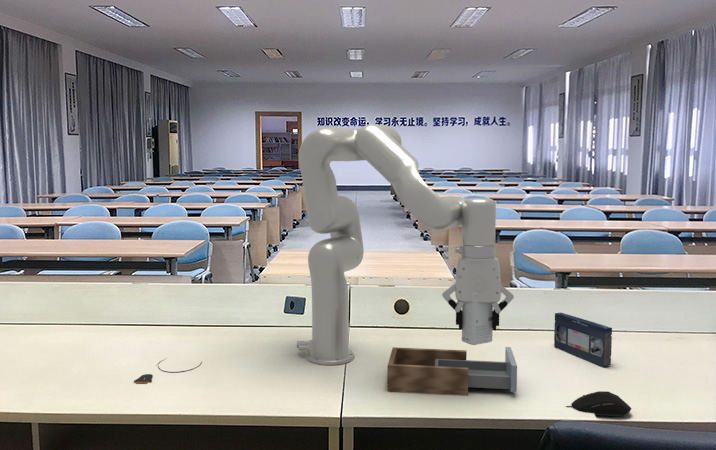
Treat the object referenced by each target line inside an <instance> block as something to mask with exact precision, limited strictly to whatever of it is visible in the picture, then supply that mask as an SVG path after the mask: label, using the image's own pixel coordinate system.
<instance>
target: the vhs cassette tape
mask: <svg viewBox="0 0 716 450" xmlns="http://www.w3.org/2000/svg"><path fill="white" fill-rule="evenodd" d="M553 331H554V336H553V341H554V342H553V347H554V348H555V349H557V350H560V351H562V352H565V353H567V354H570V355H572V356H575V357H576V358H579V359H582V360H585V361H587V362H590V363H592V364H596V365H598V366H601V367H603V368H604V367H609V366H611V365H612V341H613V336H612V335H613V328H612V327H609V326H606V325H604V324H600V323H597V322H594V321H591V320H588V319H584V318H581V317H579V316H578V317H577V316H574V315H571V314H567V313H564V312H555V313H554V330H553Z"/></svg>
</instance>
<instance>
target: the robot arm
mask: <svg viewBox="0 0 716 450" xmlns="http://www.w3.org/2000/svg"><path fill="white" fill-rule="evenodd" d="M357 161H358V162H359V161H362V162H363V161H366V162H367V163H369V164H370V165H371V166H372V167H373V168H374V170H376V171H377V172H378V173H379V174H380V175H381V176H382V177H383V178H384V180H386V181H387V182H388V183H389V184H390V185H391V186H392V187H393V190H394V192H395V194H396V196H397V198H398V199H399V201H400V202H401V204H402V205H403V206H404V208H405V210H407V211H408V212H409V213H410V214H411V215H412V216H413V217H414V218H415V219H417V221H419V223H421V224H422V225H423V226H425V227H426V228H427V229H429V230H431V231H436V232H440V231H445V230H448V229H449V230H450V229H454V228H461V245H459V246H455V248H454V249H455V251H454V253H455V254H457V253H458V254H460V255H461V256H459V257H458V259H457V264H456V271H455V283H453V284H452V285H451V286H450V287H448V288H447V289H446V290H445V291H443V292H442V295H441V297H442V298H443V299H444V300H445V301H446V302H447V304H448V306H450V307H451V308H452V309H453V310H454V311H455V325H456V326H458V329H459V330H462V306H463V305H464V303H471V302H472V301H473V293H477V302H478V303H491V304H492V306H493V327H492V328H493V331H497V327H499V326H500V313H501V312H502V311H503V310H504V309H505V308H506V307H507V306H508V305H509V304H510V303H511V302H512V301H513V300H514V298H515V297H514V294H513V293H512V292H510V290H508V289H507V288H506V287H505V286H503V285H502V282H501V281H502V279H501V267H500V261H499V258H498V257H496V227H497V225H496V222H497V221H496V219H497V218H496V217H497V216H496V215H497V213H496V212H497V206H496V202H495V200H494V199H492V198H487V197H468V198H466V197H462V196H461V197H460V196H454V195H449V196H448V195H447V196H440V195H439V194H437V193H436V192H435V191H434V190H433V189H432V188H431V187H430V186H429V185H428V184H427V183H426V182H425V181H424V179H423V177H422V176H421V175H420V172H419V160H418V159H417V158H416V157H415V156H414V155H412V154H411V152H409V151H408V150H407V149H406V148H405V147H404V146H403V144H402V138H401V135H400V133H399V132H398V131H397V130H396V129H395V128H393V126H389V125H384V124H383V125H382V124H377V123H375V124H374V123H371V124H366V125H364V126H362V127H360V128H349V129H348V128H340V127H339V128H338V127H333V126H332V127H331V126H330V127H329V126H328V127H327V126H325V127H319V128H316V129H315V130H312V131H311V132H310V133H308V134H307V135H306V136H305V138H304V139H303V141H302V142H301V145H300V147H299V152H298V164H299V170H300V173H301V179H302V185H303V193H304V194H303V196H304V200H305V201H304V203H305V208H306V209H305V210H306V216H307V221H308V224H309V228H310V229H311V230H312V231H313V232H314V233H317V234H322V235H323V234H324V235H325V234H329V235H330V237H329V238H324V239H321V240H319V241H317V242H316V243H315V244H314V245H313V246H312V247H311V248H310V250H309V253H308V256H307V265H308V271H309V276H310V282H311V333H312V334H311V340H308V341H303V340H297V341H296V345H295V346H296V348H297V349H298V350H299V351H307V353H306V359H307V361H308V362H310V363H312V364H316V365H322V366H337V365H343V364H348V363H349V362H352V361H353V360H354V359H355V352H354V351H353V350H352V349H350V348H349V289H348V288H349V287H348V283H347V280H346V276H345V272H348V271H351V270H354V269H356V268H357V267H359V265H361V263H362V261H363V259H364V251H365V249H364V242H363V235H362V227H361V220H360V214H359V210H358V207H357V206H356V204H355V202H353V200H352V199H350V198H349V197H347V196H344V195H339V193H338V189H337V180H336V176H335V174H334V172H333V169H332V168H331V165H330V163H331V162H357ZM454 292H455V299H456V301H457V302H456V301H455V300H454V299H453V298H452V297H451V295H452V294H453V293H454ZM502 294H503V295H504V296H505V297H504V299H502V300H501V298H502Z"/></svg>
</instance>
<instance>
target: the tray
mask: <svg viewBox="0 0 716 450" xmlns="http://www.w3.org/2000/svg"><path fill="white" fill-rule="evenodd" d="M504 356H505V357H504V359H505V360H504V361H495V360H494V361H493V360H492V361H491V360H488V361H487V360H472V359H471V360H470V359H468V360H467V359H466V360H451V359H435V366H444V367H466V368H468V388H478V389H479V388H481V389H495V390H496V389H497V390H498V389H500V390H509V391H510V393H517V391H518V390H517V384H518V383H517V381H518V364H517V361H516V359H515V356H514V353H513V350H512V347H511V346H505V355H504Z"/></svg>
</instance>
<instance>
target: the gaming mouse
mask: <svg viewBox="0 0 716 450" xmlns="http://www.w3.org/2000/svg"><path fill="white" fill-rule="evenodd" d="M565 408H572V409H574V410H576V411H577V412H582V413H586V414H587V413H588V414H594V415H595V416H608V417H609V416H610V417H611V416H613V417H618V416H620V417H621V416H624V415H627V414H629V413H630V412H631V410H632V407H631V406H630V405H629V404H628V403H627V402H625V401H624V400H623V399H622V398H621V397H620V396H619V395H618V394H616V393H612V392H611V391H605V390H604V391H599V390H598V391H594V392H591V393H587V394H583V395H581V396H580V397H578V398H576V399H575V400H574V401H572V403H571V404H570V405H566V406H565Z"/></svg>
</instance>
